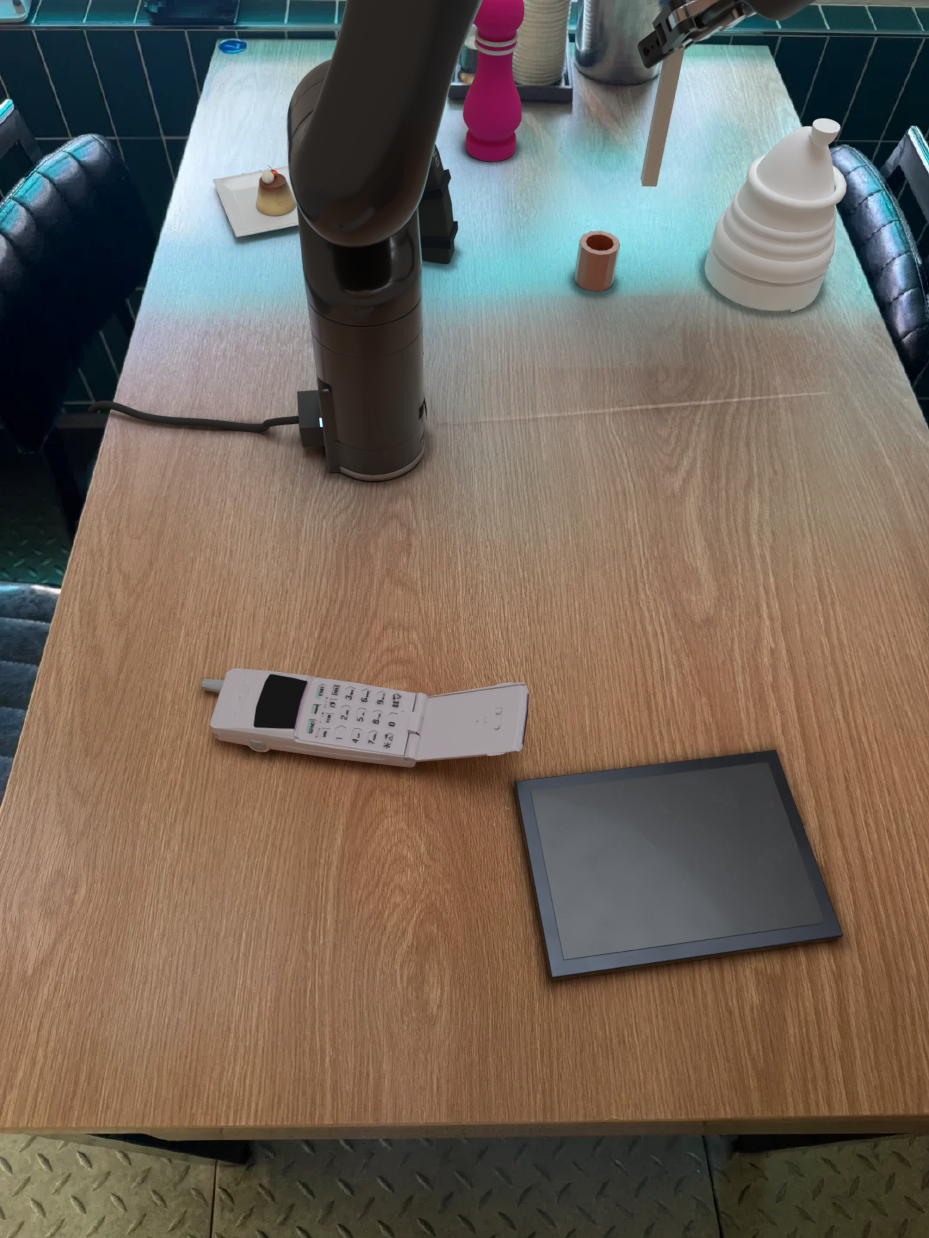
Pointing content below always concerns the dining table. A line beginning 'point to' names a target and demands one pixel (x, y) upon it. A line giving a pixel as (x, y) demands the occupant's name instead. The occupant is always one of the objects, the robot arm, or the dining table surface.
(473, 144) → the pepper mill
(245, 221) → the dessert
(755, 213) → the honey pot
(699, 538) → the dining table surface
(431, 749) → the mobile phone
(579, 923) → the tablet
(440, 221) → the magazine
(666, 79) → the stylus
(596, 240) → the pen holder
